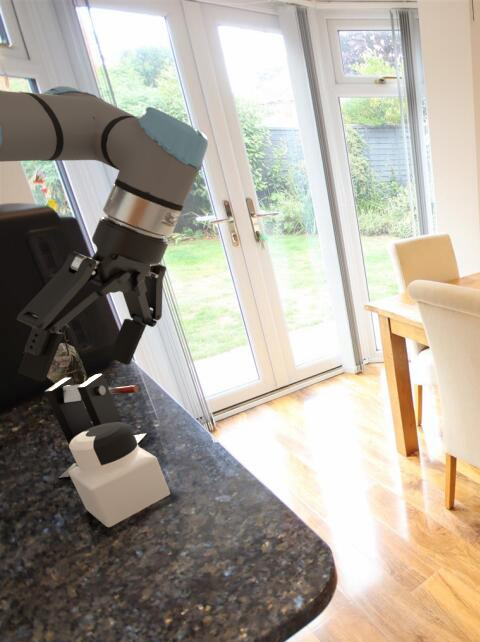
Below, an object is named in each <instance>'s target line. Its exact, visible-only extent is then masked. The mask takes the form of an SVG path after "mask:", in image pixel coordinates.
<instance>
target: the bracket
mask: <svg viewBox="0 0 480 642" xmlns="http://www.w3.org/2000/svg"><path fill="white" fill-rule="evenodd" d="M70 385H75V384H74V381H73V379H72V377H71V378H64V379H62V380H61V381H59V382H58V383H56V384H55V383H54V384H53V385H52V386H50V387H49V388H47V389H45V390H44V391H43V393H44V395H45V397H46V399H47V400H48V404H49V406H50V408H51V410H52V412H53V414H54V416H55V418H56V421H57V422H58V425H59V427H60V429H61V431H62V433H63V436H64V438H65V440H66V442H67V444H68V445H69V444H70V442H71V441H72V439H73V438H74V437H76V436H77V435H79V434H80V433H82V432H83V431H85V430H87V429H89V428H92V427H95V426H98V425H101V424H105V423H113V422H123V420H122V418H121V415H120V413H119V410H118V407H117V406H116V403H115V401H114V398H113V395H111V393H110V391H109V388H110V387H109V386H108V384H107V381H106V379H105V376H104V374H103V373H98V374H94V375H93V376H91V377H89V378H88V379H87V381H86V382H84V383H83V384H82V385H80V386H79V387H77V389H78V391H79V393H80V396H81V398H82V400H83V402H84V404H83V402H82V401H81V402H70V403H64V396H63V386H70ZM84 405H85V406H84ZM85 407H86V408H85ZM147 435H148V433H140V434H134V436H135V439H136V441H137V444H138V445H140V443H141V442H142V441H143V440H144V439H145V438H146V437H147ZM76 467H78V465H77V463H76V461H75V462H73V464H72V465H70V466H69V467H68V468H67V469H66V470H65V471H64V472H63V473H62V474H61V475H60V476H58V478H57V479H58V480H64V479H71V477H70V475H69V471H70V470H71V469H74V468H76Z"/></svg>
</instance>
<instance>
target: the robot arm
mask: <svg viewBox="0 0 480 642" xmlns="http://www.w3.org/2000/svg"><path fill="white" fill-rule="evenodd" d="M208 145H209V139H208V137H207V136H206V135H205V134H204V132H202V131H201V130H199V129H197V128H195V127H193V126H192V125H189V124H188V123H186V122H184V121H182V120H180V119H178V118H177V117H174V116H172V115H170V114H168V113H167V112H165V111H162V110H160V109H157V108H155V107H152V106H147V107H145V108H144V109H143V111H142V113H141V115H139V116H135V115H134V114H132V113H130V112H127V111H125V110H123V109H121V108H119V107H117V106H116V105H113V104H111V103H109V102H108V101H105V100H104V99H103V98H101V97H98V96H97V95H95V94H93V93H90V92H87V91H82V90H80V89H78V88H75V87H72V86H65V85H59V86H55V87H52V88H50V89H48V90H45V91H43V92H41V93H39V92H30V91H29V92H27V91H13V90H5V89H0V162H31V161H32V162H33V161H36V162H37V161H41V162H46V161H47V162H54V161H55V162H56V161H57V162H59V161H61V162H62V161H96V162H100V163H103V164H105V165H107V166H109V167H111V168H113V169H115V170H117V171H118V173H117V176H116V178H115V180H114V183H113V185H112V187H111V190H110V192H109V195H108V197H107V199H106V202H105V204H104V206H103V209H102V211H103V212H104V214H105V215H106V216H103V217H100V218H99V221H98V223H97V225H96V228H95V230H94V232H93V235H92V238H91V240H92V243H93V244H94V246H95V247H96V251H95V253H94V254H93V255H92V256H91V257H90V256H85V255H84V254H81V253H79V252H77V251H71V252H70V253H69V254H68V256H67V257H66V259H65V261H64V263H63V266H62V267H61V268H60V269H59V270H58V271H57V272H56V274H54V276H53V277H52V278H51V279H50V280H49V281H48V282H47V283H46V284H45V285H44V287H43V288H42V289H41V290H40V291H38V293H37V294H36V295H35V296H34V297H33V298H32V299H31V300H30V301H29V303H28V304H27V305H26V306H25V307H24V308H23V309H22V310H21V311H20V312H19V313H18V314H17V316H16V320H17V321H18V322H20V323H23V324H25V325H27V326H29V327H31V330H30V333H29V336H28V338H27V341H26V344H25V346H24V352H25V355H24V357H23V358H22V359H21V362H20V365H19V368H18V370H17V373H18V374H21V375H23V376H25V377H28V378H30V379H32V380H35V381H37V382H44V381H46V379H47V375H48V372H49V370H50V367H51V365H52V362H53V360H54V357H55V355H56V352H57V350H58V347H59V345H60V343H62V340H63V338H64V333H63V332H62V331H61V332H59V330H60V329H61V328H62V327H63V326H65V325H66V324H67V325H68V323H70V322H71V321H72V320H73V319H75V318H76V317H77V316H78V315H79V314H80V313H82V312H83V311H84V310H85V309H87V308H88V307H89V306H90V305H91V304H92V303H93V302H95V301H96V300H97V299H98V298H100V297H102V298H103V297H106V296H107V295H108V294H109V293H110V294H115V293H118V292H120V293H122V295H123V299H124V302H125V305H126V307H127V311H128V314H129V317H130V318H123V321H122V324H121V327H120V329H119V332H118V333H117V336H116V339H115V340H114V344H113V346H112V348H111V351H110V352H109V356H108V358H109V359H111V360H114V361H115V362H119V363H121V364H123V365H126V366H127V365H130V364H131V362H132V360H133V358H134V356H135V352H136V350H137V348H138V345H139V343H140V341H141V339H142V337H143V335H144V332H145V329H146V327H147V326H148V327H150V328H153V327H155V326H156V325H157V323H158V321H160V320H161V319H162V317H163V286H164V277H165V275H166V271H167V266H165V265H163V264H161V263H162V260H163V258H164V255H165V254H166V250H167V249H168V246H169V244H170V242H169V240H168V239H167V238H166V237H171V236H172V235H173V234H174V233H173V232H174V230H175V228H176V225H177V224H178V222H179V218H180V215H181V214H182V213H181V212H182V211H183V209H184V207H185V202H186V200H187V198H188V197H189V193H190V192H191V189H192V187H193V185H194V183H195V181H196V179H197V176H198V175H199V172H200V170H201V169H202V167H203V162H204V158H205V155H206V152H207V149H208ZM91 281H92V282H91Z"/></svg>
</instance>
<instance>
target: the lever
mask: <svg viewBox="0 0 480 642" xmlns="http://www.w3.org/2000/svg"><path fill="white" fill-rule="evenodd" d="M80 385H82V384H79V385H70V386H63V396H64V403H70V402H81V401H83V400H82V398H81V396H80V393H79V391H78V389H77V387H79V386H80ZM108 388H109V391H110V393H111V396H118V395H127V394H134V393H137V392H138V391H139V387H138V386H137V385H136V384H135V385H126V386H119V387H117V386H116V387H108Z"/></svg>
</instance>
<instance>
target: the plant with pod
mask: <svg viewBox="0 0 480 642" xmlns="http://www.w3.org/2000/svg"><path fill="white" fill-rule="evenodd" d="M65 326H66V329H70V326H69V325H68V323H67V324H66V325H65ZM66 329H64V326H63V327H62V328H61V332H62V333H64V335H63V339H64V342H60V345H59V347H58V350H57V352H56V355H55V357H54V360H53V362H52V365H51V367H50V370H49V372H48V375H47V377H46V379H48V380H49V381H50V382H52V384H54V385H55V384H56V383H58V382H59V381H61V380H62V379H64V378H71V377H72V379H73V381H74V384H75V385H79V384H83V383H84V382H86V381H87V380H88V376H87V372H86V369H85V367H84V365H83V361H82V359H81V358H80V355H79V353H78V351H77V349H75V347H74V346H73V345H72V344H69V343H68V342H70V339H67V335H66ZM82 402H83V401H82ZM83 404H84V402H83ZM84 406H85V405H84ZM85 409H86V407H85Z"/></svg>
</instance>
